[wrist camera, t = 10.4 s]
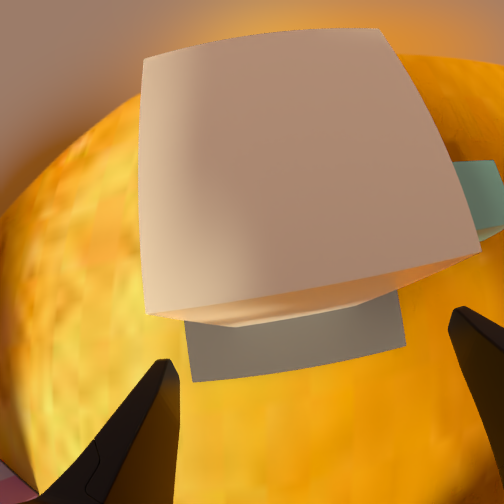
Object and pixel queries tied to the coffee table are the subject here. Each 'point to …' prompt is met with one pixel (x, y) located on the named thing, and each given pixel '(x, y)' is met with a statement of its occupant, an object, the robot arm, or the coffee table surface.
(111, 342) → the coffee table surface
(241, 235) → the white boxy piece
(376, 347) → the mat
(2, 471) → the cereal box
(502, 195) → the teal cube
